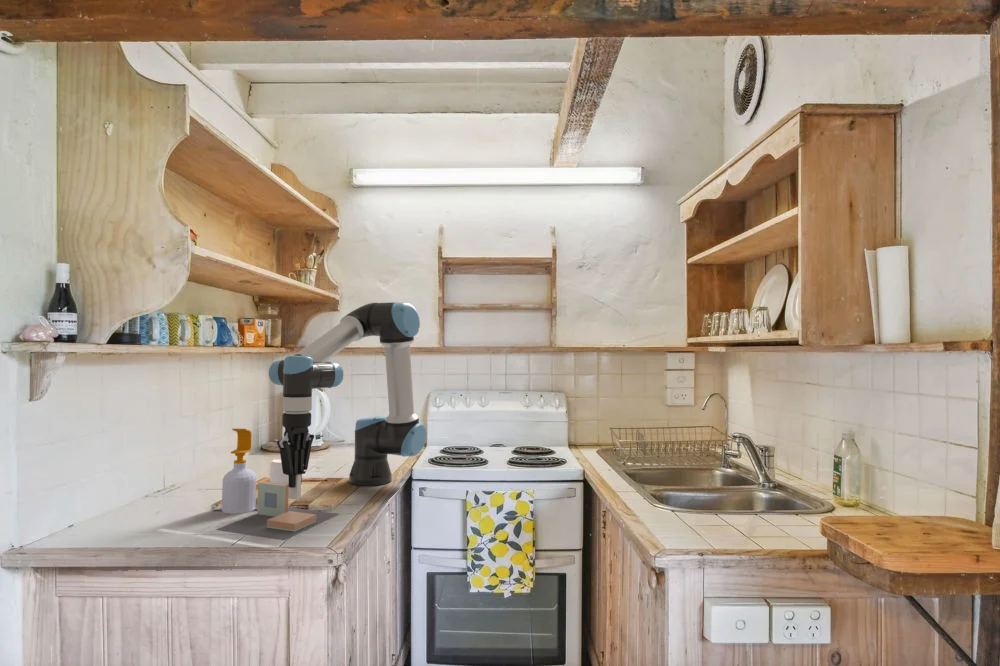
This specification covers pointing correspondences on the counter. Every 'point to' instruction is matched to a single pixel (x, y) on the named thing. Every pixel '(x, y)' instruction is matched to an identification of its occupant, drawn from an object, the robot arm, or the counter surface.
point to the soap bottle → (239, 479)
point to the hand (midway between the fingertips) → (294, 498)
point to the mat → (258, 527)
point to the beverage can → (278, 472)
